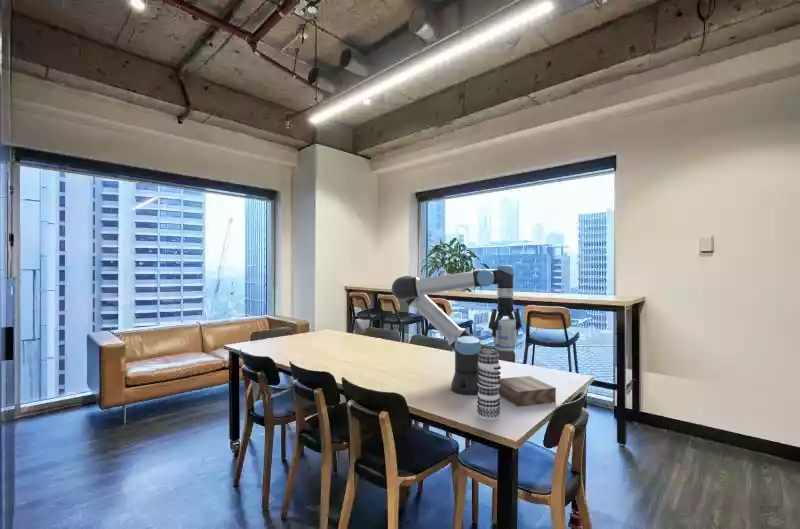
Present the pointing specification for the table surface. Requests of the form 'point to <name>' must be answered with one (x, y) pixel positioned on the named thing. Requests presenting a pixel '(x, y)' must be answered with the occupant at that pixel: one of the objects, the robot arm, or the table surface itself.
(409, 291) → the robot arm
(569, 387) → the table surface
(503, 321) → the supplement tub
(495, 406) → the decorative candle
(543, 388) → the walnut riser
